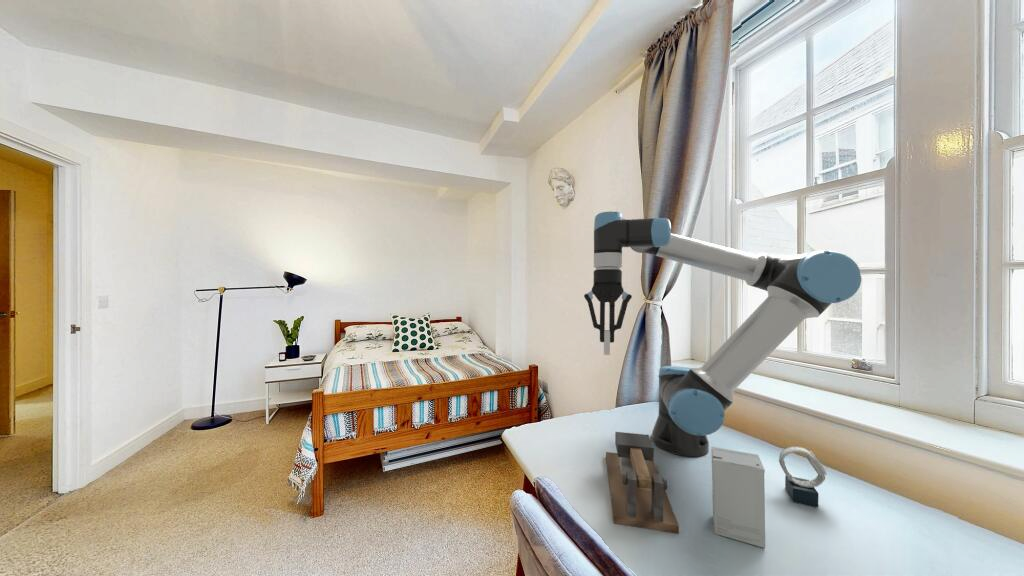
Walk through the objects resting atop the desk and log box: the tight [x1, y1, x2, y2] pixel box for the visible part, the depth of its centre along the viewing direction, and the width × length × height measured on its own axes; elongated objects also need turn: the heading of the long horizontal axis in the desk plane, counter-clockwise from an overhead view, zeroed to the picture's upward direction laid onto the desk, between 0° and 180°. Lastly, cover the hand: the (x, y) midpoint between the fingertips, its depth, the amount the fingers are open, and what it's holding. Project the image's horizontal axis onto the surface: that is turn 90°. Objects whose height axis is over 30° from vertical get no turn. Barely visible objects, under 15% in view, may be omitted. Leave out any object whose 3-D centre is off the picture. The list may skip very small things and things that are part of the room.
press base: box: [605, 451, 680, 534], centre depth 78 cm, size 12×26×9 cm, turn 167°
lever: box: [614, 431, 655, 491], centre depth 76 cm, size 8×20×3 cm, turn 167°
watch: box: [778, 446, 828, 508], centre depth 75 cm, size 6×8×11 cm
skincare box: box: [711, 446, 766, 549], centre depth 64 cm, size 8×6×15 cm
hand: (606, 353), depth 92 cm, fingers closed
